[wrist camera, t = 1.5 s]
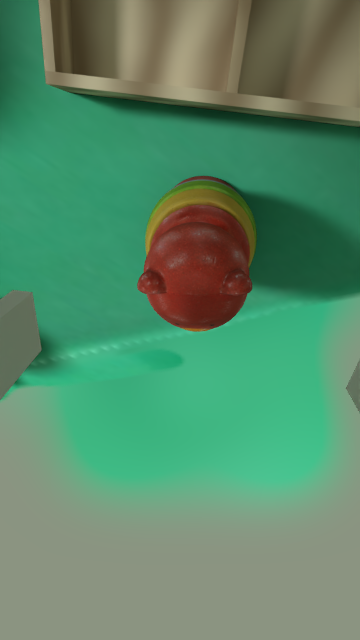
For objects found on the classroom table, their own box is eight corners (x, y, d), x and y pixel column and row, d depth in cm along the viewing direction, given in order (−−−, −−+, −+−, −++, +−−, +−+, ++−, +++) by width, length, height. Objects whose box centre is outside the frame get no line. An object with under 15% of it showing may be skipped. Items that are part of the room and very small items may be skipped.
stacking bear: (149, 266, 35) (102, 362, 20) (152, 168, 30) (92, 193, 15) (244, 276, 35) (271, 381, 19) (263, 178, 30) (320, 215, 14)
